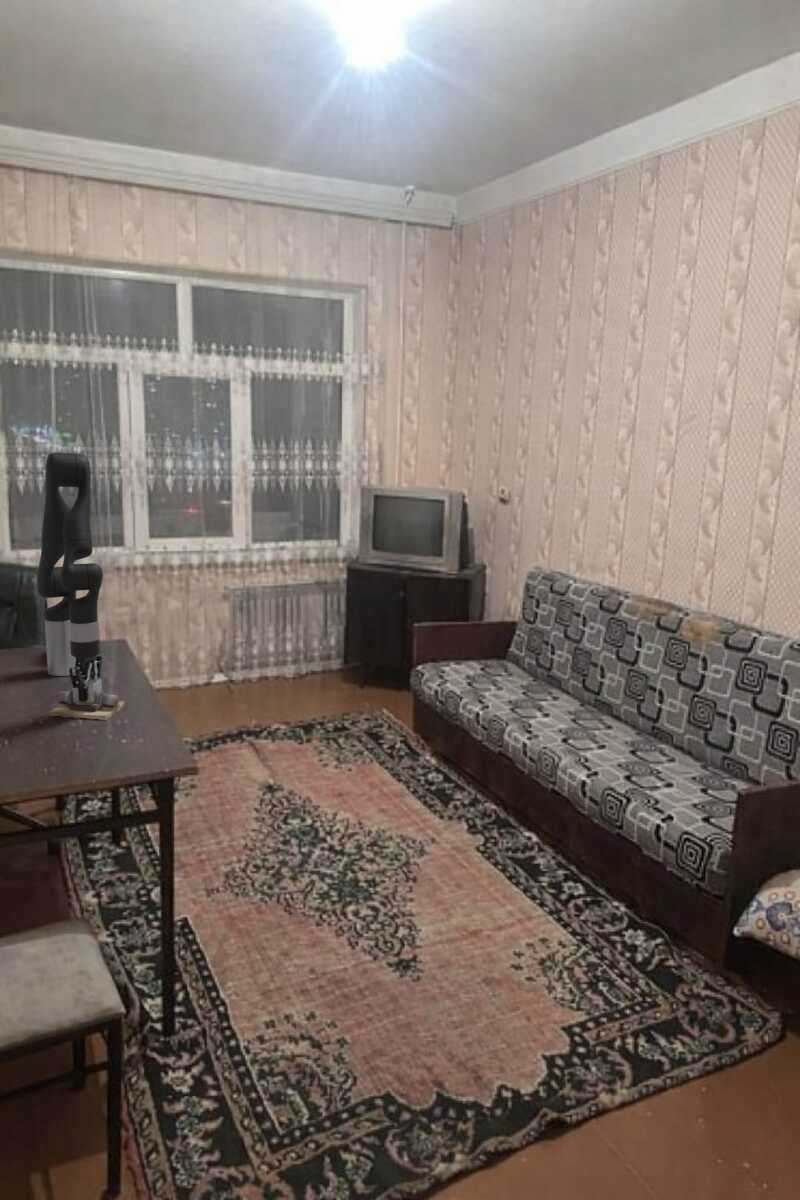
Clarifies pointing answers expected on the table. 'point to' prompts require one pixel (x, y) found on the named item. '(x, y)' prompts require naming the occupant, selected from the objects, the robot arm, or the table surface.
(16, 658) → the table surface
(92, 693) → the block
